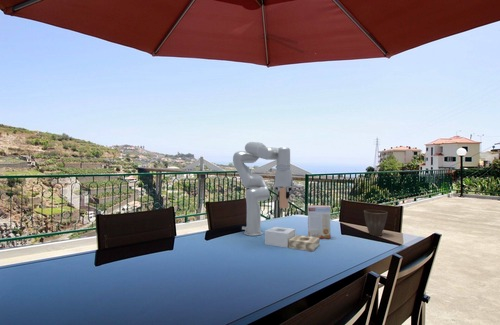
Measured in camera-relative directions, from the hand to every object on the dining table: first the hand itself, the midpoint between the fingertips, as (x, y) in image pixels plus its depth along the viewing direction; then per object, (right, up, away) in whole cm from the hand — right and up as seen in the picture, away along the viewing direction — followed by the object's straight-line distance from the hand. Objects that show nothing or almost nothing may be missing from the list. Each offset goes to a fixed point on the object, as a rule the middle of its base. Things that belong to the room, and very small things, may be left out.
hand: (283, 198), depth 175 cm
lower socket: (+11, -28, -6) cm, 30 cm away
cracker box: (+25, -28, +15) cm, 40 cm away
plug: (0, -6, 0) cm, 6 cm away
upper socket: (-2, -27, +1) cm, 28 cm away
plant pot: (+66, -28, +24) cm, 75 cm away
